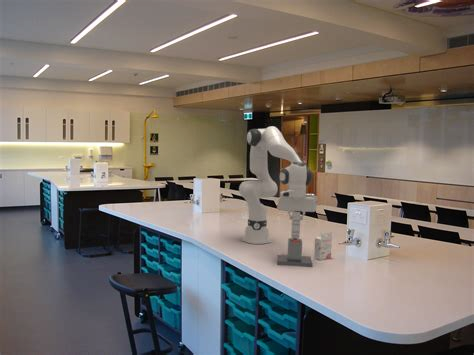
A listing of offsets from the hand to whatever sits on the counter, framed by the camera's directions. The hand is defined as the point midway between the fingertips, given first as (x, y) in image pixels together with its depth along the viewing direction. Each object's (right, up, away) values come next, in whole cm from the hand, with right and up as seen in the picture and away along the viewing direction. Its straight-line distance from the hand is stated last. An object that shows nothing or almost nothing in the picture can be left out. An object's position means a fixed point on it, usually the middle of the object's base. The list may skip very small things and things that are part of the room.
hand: (296, 219), depth 224 cm
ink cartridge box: (+16, -23, +12) cm, 31 cm away
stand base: (-1, -23, +2) cm, 23 cm away
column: (0, -14, +1) cm, 14 cm away
